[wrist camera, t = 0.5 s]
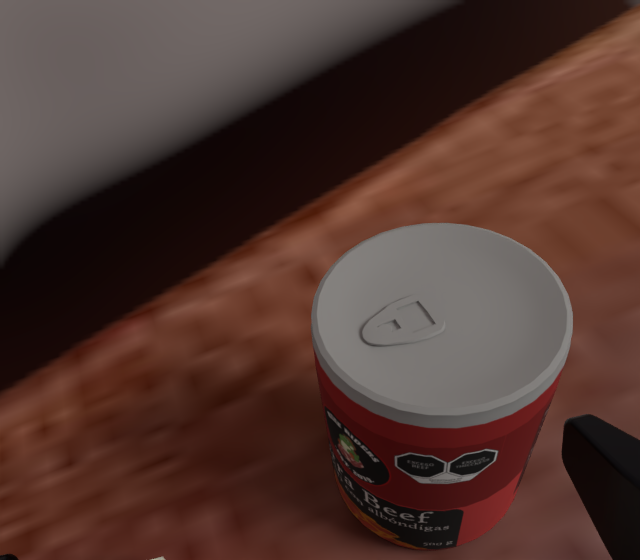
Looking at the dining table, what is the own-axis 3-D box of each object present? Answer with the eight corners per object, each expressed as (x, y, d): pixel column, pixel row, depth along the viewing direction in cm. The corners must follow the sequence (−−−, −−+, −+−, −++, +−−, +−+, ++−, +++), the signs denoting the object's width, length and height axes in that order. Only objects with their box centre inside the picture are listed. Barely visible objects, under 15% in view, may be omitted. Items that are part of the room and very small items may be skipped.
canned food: (300, 461, 26) (260, 302, 18) (424, 362, 29) (437, 189, 21) (423, 604, 22) (441, 478, 14) (554, 471, 25) (631, 304, 17)
